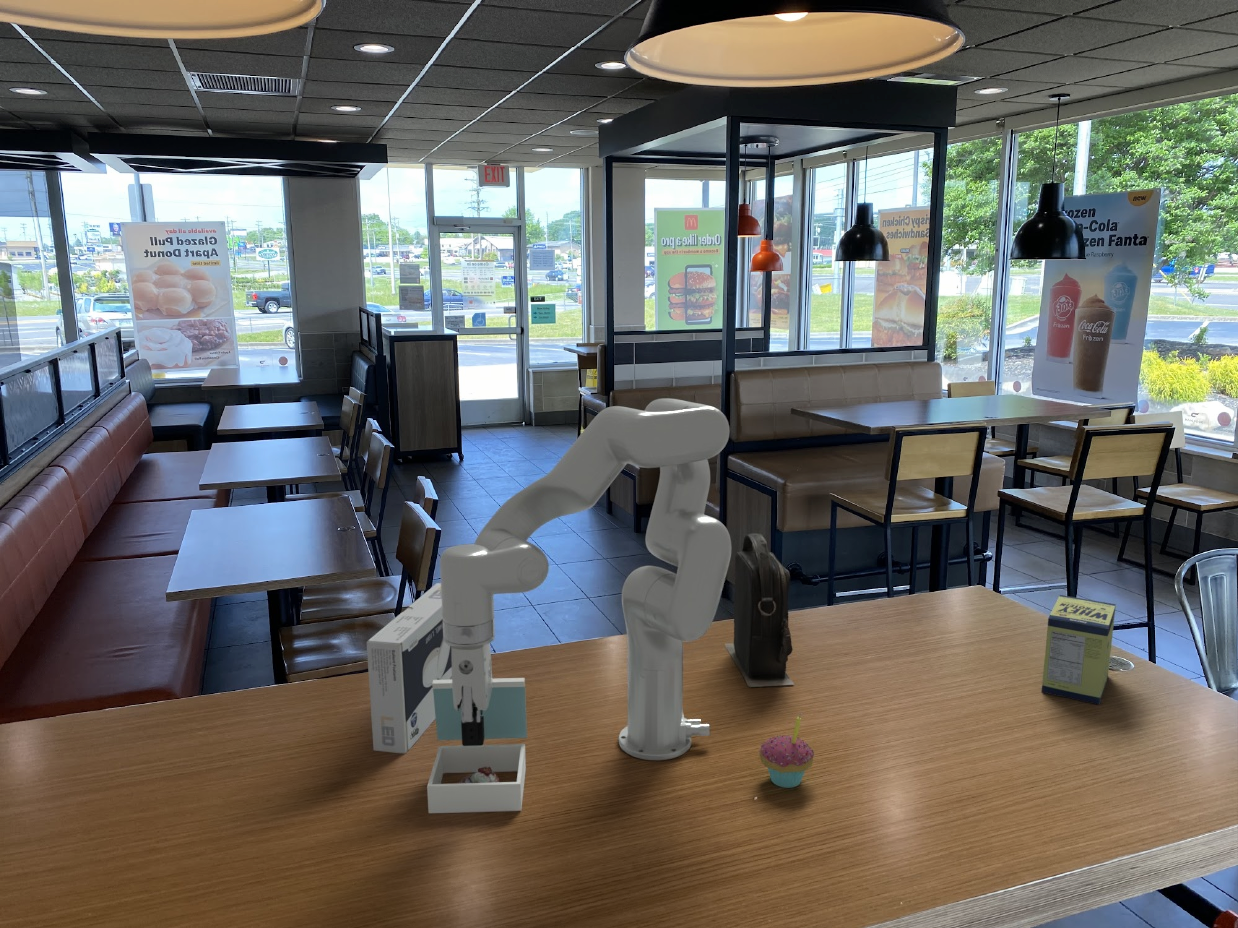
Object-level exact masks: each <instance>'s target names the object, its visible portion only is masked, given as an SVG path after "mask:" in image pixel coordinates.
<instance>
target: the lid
mask: <svg viewBox="0 0 1238 928" xmlns="http://www.w3.org/2000/svg"><path fill="white" fill-rule="evenodd" d="M525 680H526V679H525V677H511V678H510V677H509V678H508V677H504V678H503V677H500V678H498V677H497V678H492V681H493V685H492V692H491V697H490V701H489V706H488V708H487V709H486V710H485V711H483V714H482V715H481V716H484V736H485V738H484V740H495V739H496V740H500V739H501V740H504V739H505V740H507V739H527V738H528V727H527V724H528V723H527V704H526V701H527V700H526V699H527V698H526V681H525ZM432 686H433V694H434V706H435V717H436V718H435V725H436V726H435V728H436V736H437V737H436V739H437V741H462V729H461V720H462V716H461V707H460V709H459V711H456V710H455V709H454V702H453V687H452V679H451V680H433V683H432Z"/></svg>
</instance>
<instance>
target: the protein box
mask: <svg viewBox="0 0 1238 928" xmlns="http://www.w3.org/2000/svg"><path fill="white" fill-rule="evenodd" d="M1116 606H1117V604H1116V603H1109V602H1105V601H1097V600H1092V599H1087V598H1082V597H1080V598H1079V597H1075V596H1069V595H1063V594H1059V596H1058V598H1057V600H1056V602H1055V604H1054V606H1053V608H1052V610H1051V612H1050V614H1049V616H1048V619H1047V630H1046V641H1045V651H1044V652H1045V653H1044V662H1043V672H1042V684H1041V693H1043V694H1044V693H1045V694H1048V695H1054V696H1058V697H1061V698H1068V699H1072V700H1075V701H1076V700H1077V701H1080V702H1085V703H1090V704H1091V703H1092V704H1094V705H1098V706H1099V705H1100V704H1101V702H1102V698H1103V696H1104V692H1105V689H1106V684H1107V681H1108V678H1109V670H1110V662H1111V660H1110V659H1111V652H1112V642H1113V635H1114V634H1113V633H1114V632H1113V631H1114V624H1115V615H1116Z"/></svg>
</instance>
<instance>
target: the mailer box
mask: <svg viewBox="0 0 1238 928" xmlns="http://www.w3.org/2000/svg"><path fill="white" fill-rule="evenodd" d="M435 756H436V757H435V759H434V762H433V766H432V770H431V773H430V776H429V779H428V783H427V786H426V790H427V807H428V808H427V810H428V814H449V813H450V814H451V813H452V814H454V813H486V812H487V813H488V812H493V813H494V812H519V811H520V812H522V807H523V798H524V788H525V780H526V779H525V777H526V769H527V767H526V765H527V763H526V744H525V743H517V744H516V743H515V744H483V745H481V746H463V745H439V746H438V749H437V752H436V755H435ZM483 767H487V768H488V767H490V768H491V770H492V771H493V772H494V773H500V772H501V773H502V772H505V773H507V772H517V777H516V781H505V782H504V781H503V782H500V781H499V782H494V783H459V782H457V783H442V781H443V780H442V779H443V776H444V774H457V773H458V774H459V773H461V774H462V773H463V774H464V773H476V772H478V769H479V768H483Z"/></svg>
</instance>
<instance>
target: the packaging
mask: <svg viewBox="0 0 1238 928" xmlns="http://www.w3.org/2000/svg"><path fill="white" fill-rule="evenodd" d="M366 654H367V668H368V670H367V671H368V681H369V684H368V685H369V699H370V716H371V717H370V719H371V732H372V733H371V734H372V744H373V745H372V747H373V751H374V752H375V751H377V752H387V753H396V754H404V755H405V754H407V752H409V751H410V750H411V748H412V747H413V746H414V745H415V743H416V742H418V740H419V739H420V738H421V737H422V735H423V734H424V733H425V732H426V730H427V729H428V728H429V727H430V726H431V724H433V722H434V721H436V717H435V706H434V694H433V686H432V683H433V680H451V679H452V661H451V646H449V645H447V644H446V643H445V642H444V640H443V617H442V597H441V582H436V583H435V584H434V585H433V586H431V587H430V589H428V590H427V591H426V592H424V593H423V594H422V595H421V596H420V597H419V598H418V599H416V600H415V601H414V602H412V603H411V604H410V605H409V606H408V607H407V608H406V609H405V610H404V611H402V612H400V614H398V615H397V616H395V618H393V619H392V620H391V621H390V622H388V623H387V624H386V625H385V626H384V627H383V628H381V629H380V630H379V631H378V632H377V633H375V634H374V635H372V637H370V639H368V640H367V641H366Z"/></svg>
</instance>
